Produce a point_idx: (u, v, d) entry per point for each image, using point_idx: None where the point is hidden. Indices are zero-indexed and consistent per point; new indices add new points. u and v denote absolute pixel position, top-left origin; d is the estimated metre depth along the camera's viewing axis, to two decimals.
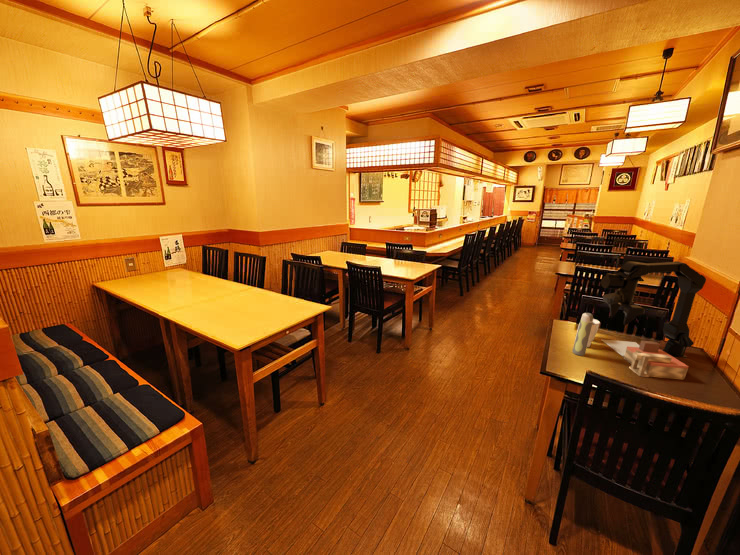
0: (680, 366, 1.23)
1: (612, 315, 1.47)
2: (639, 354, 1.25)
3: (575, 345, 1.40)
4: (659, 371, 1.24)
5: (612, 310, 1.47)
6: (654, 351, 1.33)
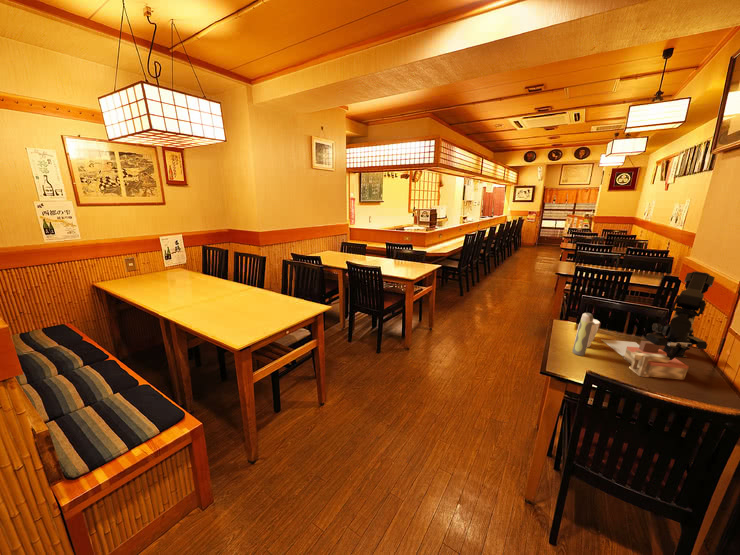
0: (680, 366, 1.23)
1: (669, 357, 1.25)
2: (637, 354, 1.25)
3: (575, 345, 1.40)
4: (659, 371, 1.24)
5: None
6: (654, 351, 1.33)
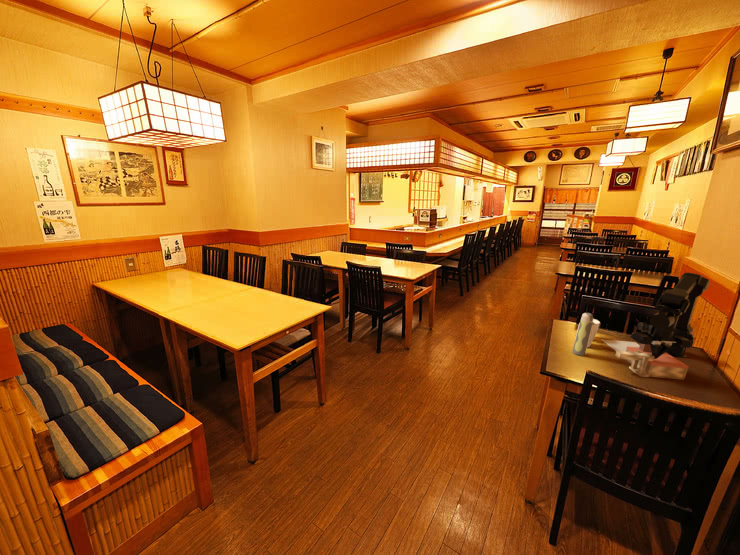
0: (680, 366, 1.23)
1: None
2: (622, 353, 1.26)
3: (575, 345, 1.40)
4: (659, 371, 1.24)
5: None
6: None
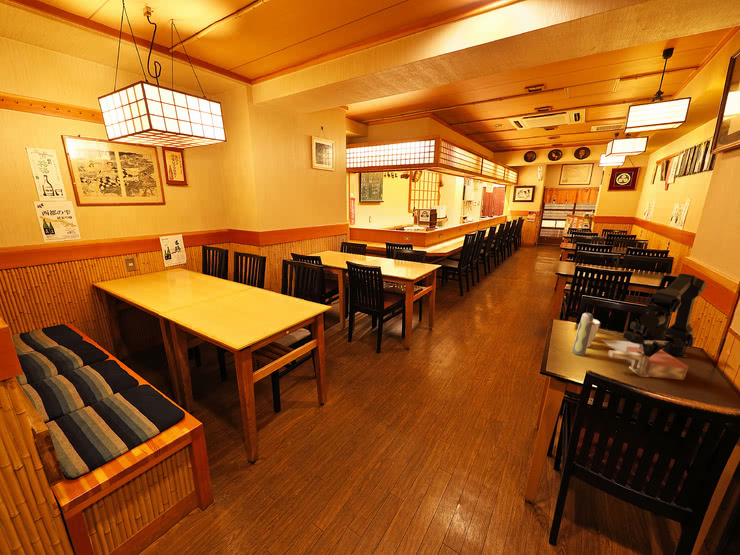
0: (680, 366, 1.23)
1: (646, 355, 1.26)
2: (614, 352, 1.26)
3: (575, 345, 1.40)
4: (659, 371, 1.24)
5: None
6: None
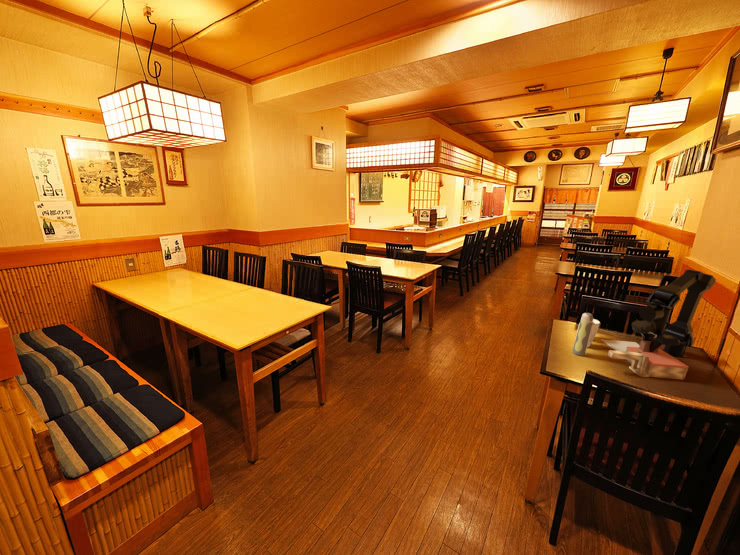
0: (680, 366, 1.23)
1: None
2: (614, 352, 1.26)
3: (575, 345, 1.40)
4: (659, 371, 1.24)
5: None
6: (654, 351, 1.33)
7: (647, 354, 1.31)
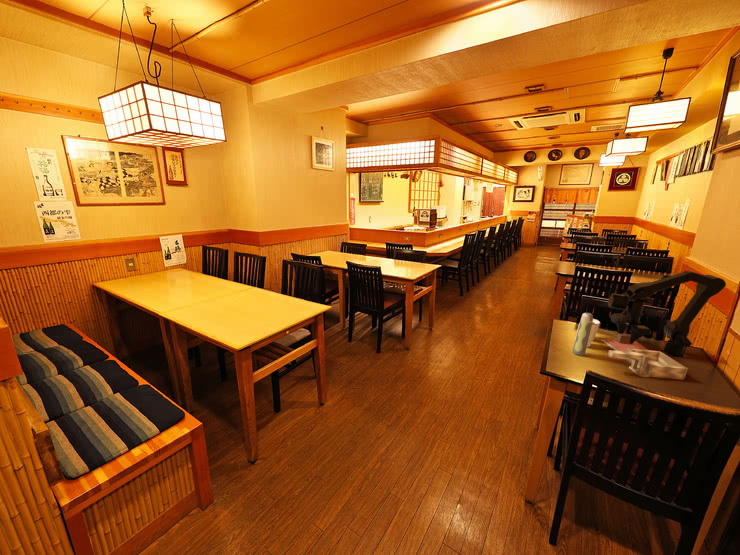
0: None
1: None
2: (614, 352, 1.26)
3: (575, 345, 1.40)
4: (659, 371, 1.24)
5: (620, 329, 1.53)
6: (629, 343, 1.50)
7: (622, 345, 1.48)
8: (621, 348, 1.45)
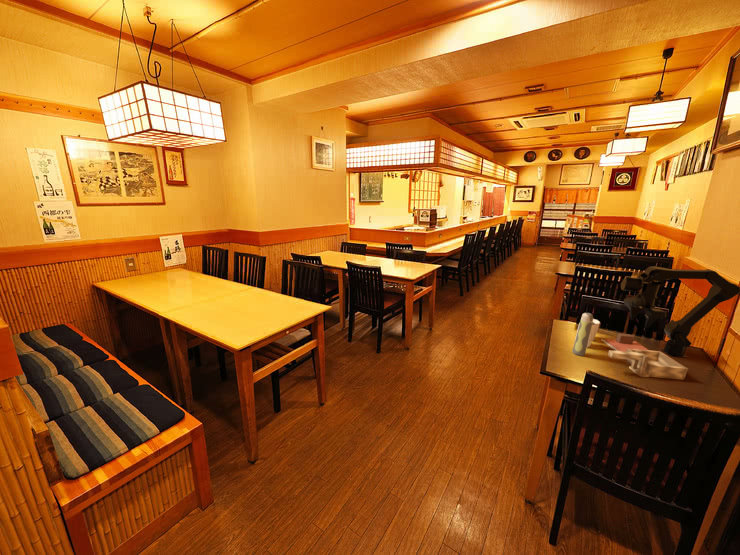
0: None
1: (632, 318, 1.52)
2: (614, 352, 1.26)
3: (575, 345, 1.40)
4: (659, 371, 1.24)
5: (632, 313, 1.51)
6: (629, 343, 1.50)
7: (622, 345, 1.48)
8: (621, 348, 1.45)
